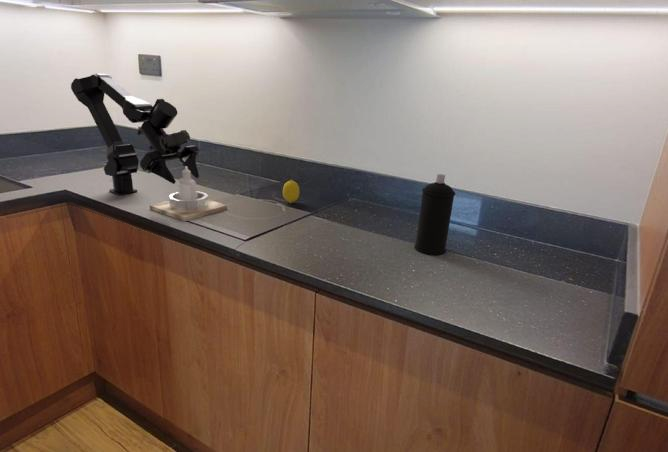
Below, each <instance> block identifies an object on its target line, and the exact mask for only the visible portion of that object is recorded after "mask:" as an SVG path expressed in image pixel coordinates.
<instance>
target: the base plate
mask: <svg viewBox="0 0 668 452" xmlns="http://www.w3.org/2000/svg"><path fill="white" fill-rule="evenodd" d="M149 209H150V210H152V211H154V212H158V213H159V214H160V213H161V214H162V215H165V216H169V217H171V218H174V219H177V220H178V221H179V220H180V221H183V222H187V221H191V220H194V219H198V218H200V217H203V216H208V215H212V214H214V213H215V214H216V213H218V212H222V211H225V210H228V205H227V204H224V203H220V202H218V201H215V200H214V201H213V200H212V199H208V206H207V207H206V208H204V209H200V210H194V211H179V210H175V209H172V208H170V206H169V200H166V201H162V202H158V203H154V204H150V205H149Z"/></svg>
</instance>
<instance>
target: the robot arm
mask: <svg viewBox="0 0 668 452" xmlns="http://www.w3.org/2000/svg"><path fill="white" fill-rule="evenodd" d="M70 88H71V89H70V90H71V91H72V92H73V95H74V96H75V97H76V99H77V100H78V102H79V103H81V104H82V105H83V106H85V107H87V109H88V111H89V113H90V115H91V116H92V119H93V121H94V123H95V124H96V127H97V128H98V131H99V133H100V135H101V136H102V137H101V138H103V141H104V143H105V144H106V146H107V147H106V148H107V153H106V158H107V162H106V164H105V166H104V167H103V171H104V174H105V175H106V176H108V177H109V176H110V177H111V180H112V186H113V187H112V188H111V189H109V190H108V192H111V193H113V194H116V195H118V196H120V195H126V194H131V193H132V194H133V193H135V192H138V189H136V188H134V185H133V178H132V177H133V176H132V174H134V173H135V174H137V173H138V170H139V169H138V168H139V165H140V168H141V169H142V171H144V172H146V171H147V172H148V173H153V174H155V175H157V176H158V177H160V178H162V179H164V180H166V181H168V182H169V183H170V184H172V185H175V184H176V182H177V181H176V179H175V177H174V176H173V173H171V171H170V169H169V168H168V166H167V164H166V163H167V162H168V161H175V160H179V161H180V162H181V163H182V166H183V167H184V168H185V166H187V167H188V170H190V171H191V176H193V177H194V178H195V179H198V178H199V177H200V173H199V171H198V167H197V162H196V158H197V157H198V155H199V153H200V152H201V151H200V149H199V148H198V146H197V145H194V144H193V145H192V144H191V145H187V146H186V145H185V146H184V148H183V149H182V150H181V148H182V145H184V144H188V143H189V141H190V140H191V135H190V133H189V132H188V131H187V129H181V130H180V131H178V132H173V133H170V134H167V132H166V130H165V129H167V128H169V127H170V125H171V124H172V122H173V121H174V119H176V117H177V116H178V110H177V108H176V106H174V105H173V104H171V103H170V102H167V101H165V99H164V98H156V100H155V101H154V104H153V105H152V104H151V103H149V102H148V101H146V100H144V99H141V98H139V97H136V96H134V95H132V94H131V93H130V92H129V91H127V89H125V88H124V87H123V86H121V85H120V84H119V83H117V81H115V80H114V79H113V78H112V76H111V75H110V74H107V73H94V74H91V75H89V76H85V77H81V78H80V77H79V78H77V77H76V78H74V79H73V81H72V82H71V83H70ZM105 95H106V96H107V97H109V98H110V99H111V100H112V101H113V102H115V103H116V104H117V105H118V106H119V107H121V109H122V114H123V115H124V116H125V117H126V119H127V120H128V121H129V122H131V123H132V124H138V123H142V124H141V125H140V126H138V127H137V136H138V137H139V136H144V137H145V139H146V140H147V142H148V144H149V145H150V146H149V147H148V148H149V150H150V151H147V152H146V153H145V155H143V157H142V159H141V160H139V156H138V153H137V152H136V150H135V147H134V145H132V143H130V144H129V143H128V144H127V143H125V142H124V141H123V138H122V136H121V135H120V132H119V131H118V128H117V127H116V125H115V123H114V120H113V118H112V117H111V115H110V112H109V110H108V108H107V107H106V105H105V102H104V99H105ZM179 150H181V151H179Z"/></svg>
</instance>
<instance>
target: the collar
mask: <svg viewBox="0 0 668 452" xmlns="http://www.w3.org/2000/svg"><path fill="white" fill-rule="evenodd" d="M196 194H197V199H196V200H179V191H177V192H172V193H171V194H169V195H168V201H169V206H170V208H172V209H175V210H179V211H194V210H200V209H204V208H206V207H207V206H208V200H209V195H208V194H207V193H206V192H202V191H199V190H196Z"/></svg>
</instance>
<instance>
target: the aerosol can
mask: <svg viewBox="0 0 668 452" xmlns="http://www.w3.org/2000/svg"><path fill="white" fill-rule="evenodd" d="M445 177H446V174H443V173H438V174H436V179H435V180H436V181H435V182H431V183H428V184H427V185H426V186H424V187H423V188H422V189H421V192H422V196H421V201H420V210H419V211H420V212H419V217H418V225H417V230H416V231H417V233H416V241H415V244H414V249H415V250H416V251H417V252H419V253H421V254H424V255H428V256H441V255H444V254H446V252H447V249H446V247H447V242H448V237H449V236H448V235H449V228H450V223H451V217H452V211H453V205H454V204H453V203H454V198H455V195H456V192H455V191H454V190H453V188H452V187H451V186H450V185H449V184H446V183H445V180H446V179H445Z"/></svg>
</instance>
